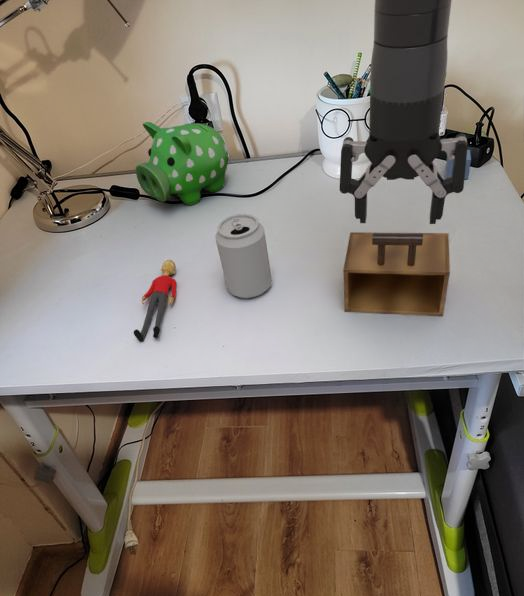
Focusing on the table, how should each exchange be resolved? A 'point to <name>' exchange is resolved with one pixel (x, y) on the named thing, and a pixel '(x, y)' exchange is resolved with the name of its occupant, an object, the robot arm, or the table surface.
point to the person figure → (158, 299)
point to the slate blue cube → (450, 166)
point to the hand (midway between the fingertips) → (397, 220)
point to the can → (244, 255)
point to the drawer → (396, 273)
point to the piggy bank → (183, 162)
